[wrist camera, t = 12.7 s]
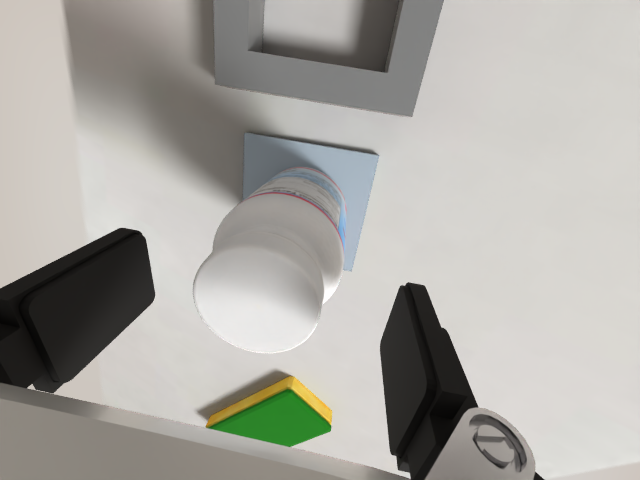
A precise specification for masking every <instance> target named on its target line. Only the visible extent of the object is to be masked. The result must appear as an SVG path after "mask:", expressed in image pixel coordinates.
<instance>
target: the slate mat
mask: <svg viewBox="0 0 640 480" xmlns="http://www.w3.org/2000/svg"><path fill="white" fill-rule="evenodd" d="M378 158H379V155H377V154H371V153H365V152H359V151H353V150H347V149H341V148H335V147H330V146H324V145H318V144H312V143H306V142H300V141H294V140H288V139H282V138H276V137H270V136H265V135H259V134H253V133H244V168H243V200H245V199H246V198H247V197H249V196H250V195H251V194H252V193H254V192H255V191H256V190H257V189H259V188H260V187H261V186H262V185H264V184H265V183H266V182H268V181H269V180H270V179H271V178H273V177H274V176H275V175H277V174H278V173H280V172H282V171H284V170H286V169H289V168H293V167H308V168H312V169H315V170H318V171H320V172H322V173H324V174H326V175H327V176H328V177H330V178H331V179H332V180H333V181H334V182H335V183H336V184H337V185H338V187H339V188H340V189H341V191H342V193H343V195H344V198H345V202H346V233H345V253H344V266H343V270H346V271H351V272H352V268H353V264H354V260H355V255H356V251H357V247H358V243H359V239H360V234H361V230H362V226H363V222H364V217H365V213H366V209H367V205H368V201H369V196H370V192H371V188H372V184H373V179H374V175H375V171H376V167H377V163H378Z"/></svg>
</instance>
